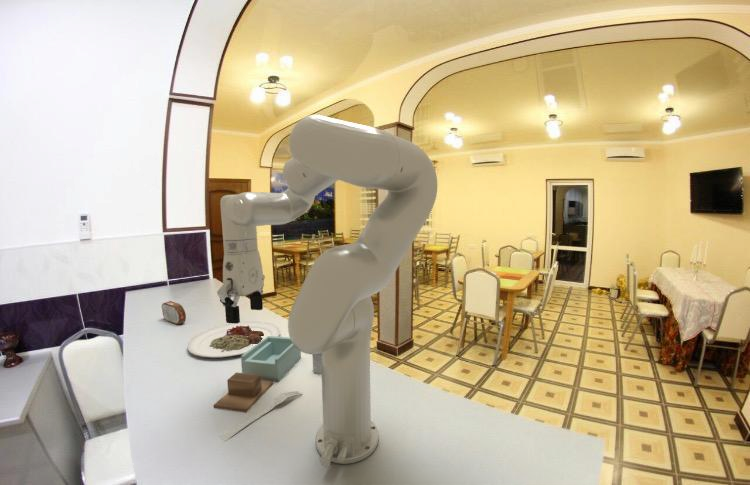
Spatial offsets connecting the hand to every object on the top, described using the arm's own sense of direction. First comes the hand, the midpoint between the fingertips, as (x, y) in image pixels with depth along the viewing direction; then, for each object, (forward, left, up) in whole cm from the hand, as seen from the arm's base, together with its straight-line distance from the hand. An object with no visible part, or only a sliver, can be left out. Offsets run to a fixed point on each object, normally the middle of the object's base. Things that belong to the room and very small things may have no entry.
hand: (245, 315), depth 77 cm
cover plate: (0, +1, -21) cm, 21 cm away
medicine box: (+17, -14, -21) cm, 30 cm away
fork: (-6, -8, -21) cm, 23 cm away
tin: (+41, +62, -21) cm, 77 cm away
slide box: (+14, +1, -21) cm, 25 cm away
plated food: (+29, +24, -21) cm, 43 cm away
